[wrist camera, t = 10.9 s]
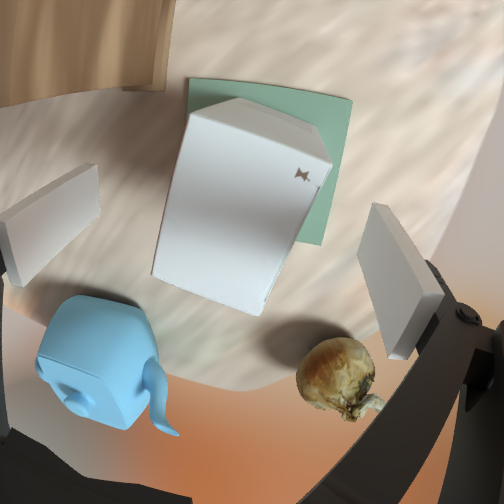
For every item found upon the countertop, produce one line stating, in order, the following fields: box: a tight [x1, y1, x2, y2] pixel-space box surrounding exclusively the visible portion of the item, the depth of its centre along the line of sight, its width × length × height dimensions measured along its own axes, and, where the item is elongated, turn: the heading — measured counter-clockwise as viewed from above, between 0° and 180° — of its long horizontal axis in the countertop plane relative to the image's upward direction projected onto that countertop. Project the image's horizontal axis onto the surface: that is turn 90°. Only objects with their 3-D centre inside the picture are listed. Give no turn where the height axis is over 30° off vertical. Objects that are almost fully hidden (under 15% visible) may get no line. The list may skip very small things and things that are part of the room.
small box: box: [151, 97, 333, 316], centre depth 17 cm, size 8×6×10 cm
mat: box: [185, 78, 353, 246], centre depth 22 cm, size 11×11×1 cm
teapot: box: [35, 295, 179, 436], centre depth 28 cm, size 12×18×12 cm
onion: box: [296, 337, 386, 422], centre depth 27 cm, size 8×8×8 cm
